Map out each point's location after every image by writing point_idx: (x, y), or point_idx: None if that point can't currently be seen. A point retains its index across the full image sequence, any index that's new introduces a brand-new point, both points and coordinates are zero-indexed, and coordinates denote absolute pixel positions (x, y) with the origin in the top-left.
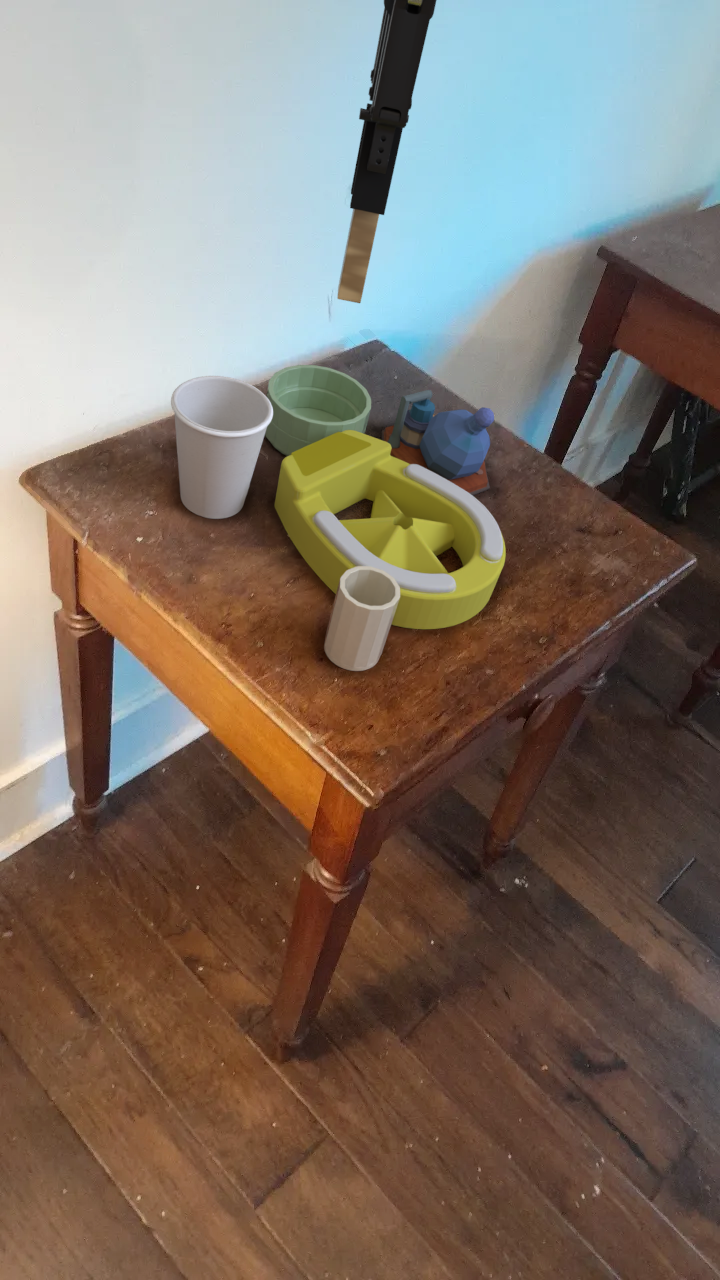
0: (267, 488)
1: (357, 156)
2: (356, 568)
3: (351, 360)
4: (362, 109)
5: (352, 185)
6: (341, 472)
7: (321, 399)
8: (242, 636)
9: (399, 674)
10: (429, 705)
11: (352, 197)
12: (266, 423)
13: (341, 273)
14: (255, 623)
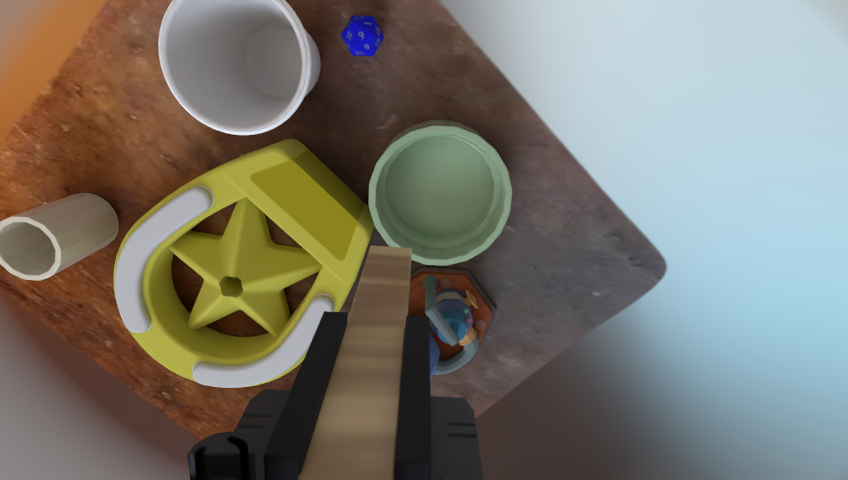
0: (320, 129)
1: (424, 361)
2: (49, 235)
3: (628, 238)
4: (237, 459)
5: (405, 325)
6: (275, 222)
7: (491, 198)
8: (69, 109)
9: (75, 263)
10: (46, 287)
11: (319, 324)
12: (209, 126)
13: (385, 259)
14: (92, 122)
